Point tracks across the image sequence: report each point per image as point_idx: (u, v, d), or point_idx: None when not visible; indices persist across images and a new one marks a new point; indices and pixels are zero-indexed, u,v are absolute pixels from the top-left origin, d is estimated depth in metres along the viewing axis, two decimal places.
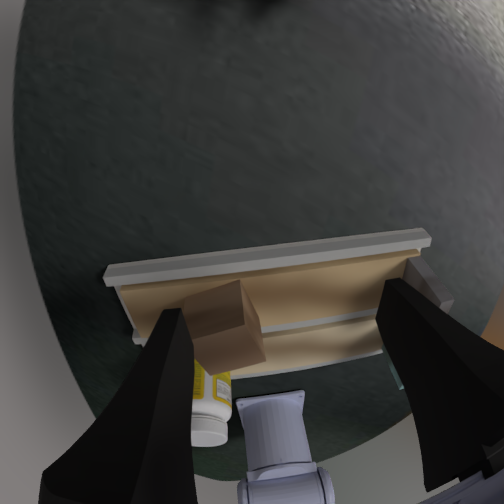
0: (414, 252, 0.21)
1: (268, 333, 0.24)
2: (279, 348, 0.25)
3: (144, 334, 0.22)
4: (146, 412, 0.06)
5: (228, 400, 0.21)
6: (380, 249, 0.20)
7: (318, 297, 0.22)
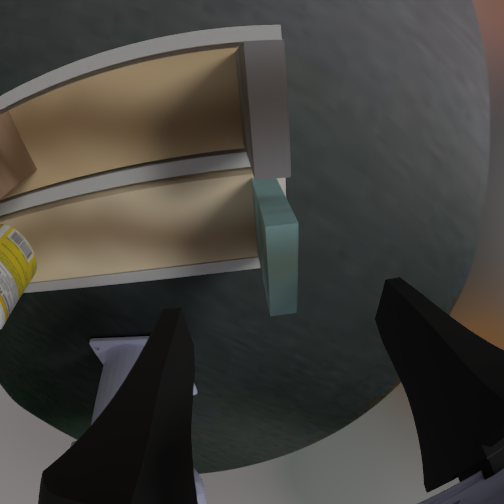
0: None
1: (61, 203, 0.15)
2: (78, 229, 0.15)
3: None
4: (146, 412, 0.06)
5: None
6: (180, 41, 0.11)
7: (99, 128, 0.13)
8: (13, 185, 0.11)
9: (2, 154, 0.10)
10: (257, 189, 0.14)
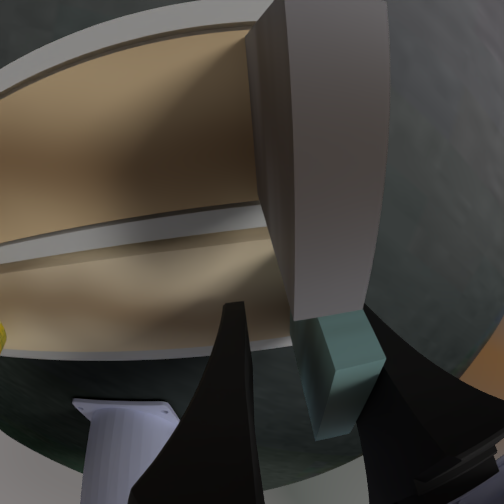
0: None
1: (18, 265, 0.10)
2: (44, 301, 0.10)
3: None
4: (238, 408, 0.06)
5: None
6: (150, 22, 0.06)
7: (34, 170, 0.07)
8: None
9: None
10: None
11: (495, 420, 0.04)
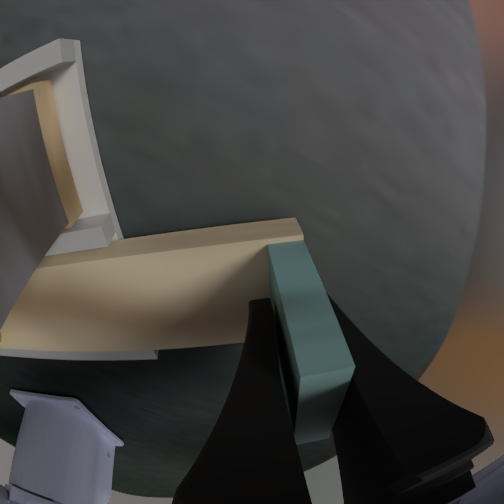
0: (24, 87, 0.06)
1: None
2: (32, 302, 0.10)
3: None
4: (277, 403, 0.06)
5: None
6: None
7: None
8: None
9: None
10: (279, 273, 0.09)
11: (466, 437, 0.04)
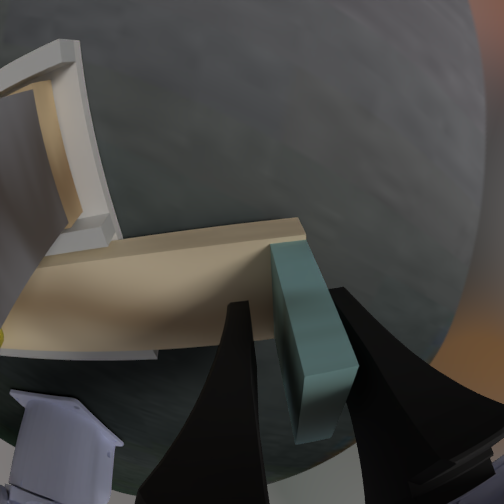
0: (24, 87, 0.06)
1: None
2: (33, 302, 0.10)
3: None
4: (245, 407, 0.06)
5: None
6: None
7: None
8: None
9: None
10: (282, 273, 0.09)
11: (491, 423, 0.04)
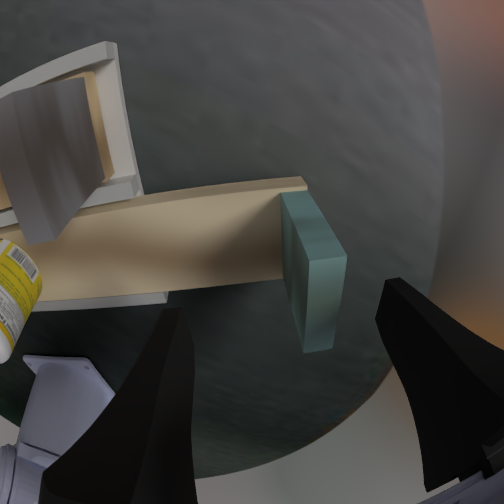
0: (75, 75, 0.09)
1: None
2: (78, 248, 0.14)
3: None
4: (146, 412, 0.06)
5: None
6: (19, 84, 0.09)
7: None
8: None
9: None
10: (290, 208, 0.12)
11: None
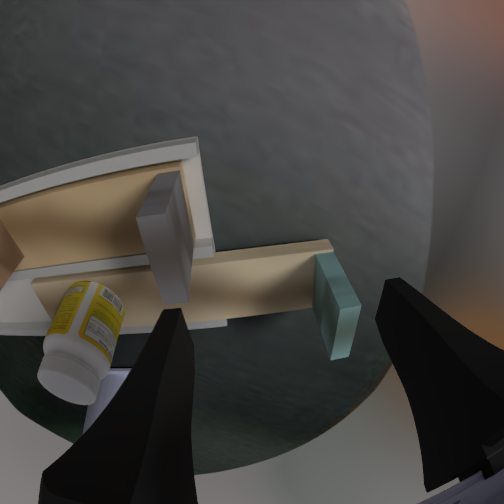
0: (170, 166, 0.15)
1: (145, 267, 0.19)
2: None
3: None
4: (146, 412, 0.06)
5: (101, 344, 0.16)
6: (114, 164, 0.15)
7: (65, 232, 0.16)
8: (8, 276, 0.15)
9: None
10: (324, 268, 0.18)
11: None
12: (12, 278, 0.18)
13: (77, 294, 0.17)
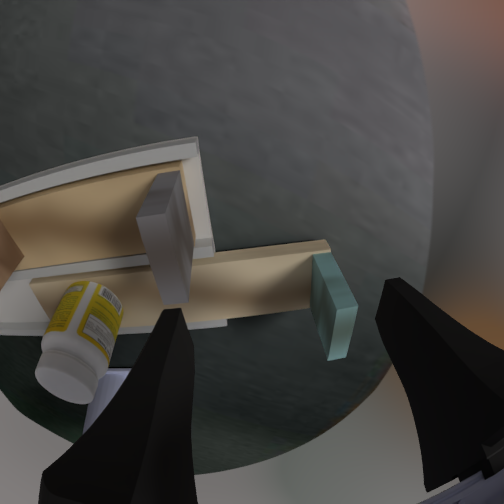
0: (170, 166, 0.15)
1: (142, 267, 0.19)
2: None
3: None
4: (146, 412, 0.06)
5: (100, 342, 0.16)
6: (114, 164, 0.15)
7: (65, 232, 0.16)
8: (8, 276, 0.15)
9: None
10: (321, 269, 0.18)
11: None
12: (12, 278, 0.18)
13: (76, 293, 0.17)
